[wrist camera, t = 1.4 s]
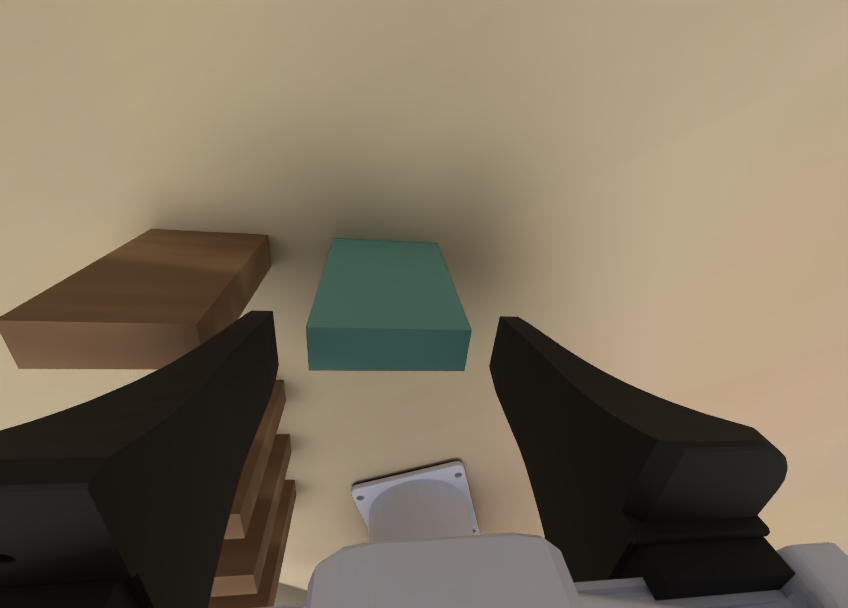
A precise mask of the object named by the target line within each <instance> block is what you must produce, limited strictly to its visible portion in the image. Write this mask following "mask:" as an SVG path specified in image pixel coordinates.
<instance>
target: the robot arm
mask: <svg viewBox="0 0 848 608" xmlns="http://www.w3.org/2000/svg"><path fill="white" fill-rule="evenodd" d="M278 366H279V363H278V354H277V345H276V337H275V328H274V319H273V311H250V312H249V313H247V314H245V315H244V316H242V317H241V318H239V319H238V320H237V321H235V322H234V323H232V324H231V325H229V326H228V327H227V328H225V329H224V330H222V331H221V332H219V333H218V334H216V335H215V336H213V337H212V338H210V339H209V340H207V341H206V342H204V343H203V344H201V345H200V346H198V347H196V348H195V349H193V350H191V351H190V352H188V353H187V354H185V355H183V356H182V357H180V358H178V359H177V360H175V361H173V362H172V363H170V364H168V365H166V366H164V367H162V368H161V369H159V370H157V371H155V372H153V373H151V374H149V375H147V376H145V377H143V378H141V379H139V380H137V381H134V382H132V383H130V384H128V385H125V386H123V387H121V388H118V389H116V390H114V391H111V392H109V393H107V394H104V395H102V396H100V397H97V398H95V399H93V400H90V401H88V402H85V403H82V404H80V405H77V406H74V407H71V408H69V409H66V410H63V411H60V412H57V413H55V414H52V415H49V416H46V417H43V418H40V419H37V420H34V421H31V422H28V423H24V424H21V425H18V426H14V427H11V428H8V429H4V430H1V431H0V608H208V605H209V601H210V596H211V591H212V587H213V582H214V578H215V574H216V570H217V565H218V561H219V557H220V553H221V549H222V544H223V540H224V536H225V532H226V528H227V525H228V521H229V517H230V513H231V509H232V505H233V501H234V498H235V494H236V491H237V487H238V483H239V480H240V476H241V473H242V470H243V467H244V464H245V461H246V458H247V455H248V453H249V450H250V448H251V445H252V443H253V440H254V438H255V435H256V433H257V430H258V428H259V425H260V423H261V420H262V418H263V415H264V413H265V410H266V408H267V405H268V403H269V400H270V397H271V395H272V391H273V388H274V384H275V380H276V375H277V371H278ZM489 367H490V371H491V375H492V379H493V383H494V387H495V390H496V393H497V396H498V399H499V401H500V403H501V406H502V408H503V411H504V413H505V416H506V418H507V420H508V423H509V425H510V427H511V430H512V432H513V435H514V437H515V439H516V442H517V444H518V446H519V449H520V452H521V454H522V457H523V460H524V463H525V466H526V469H527V473H528V476H529V479H530V483H531V486H532V489H533V493H534V497H535V500H536V504H537V508H538V511H539V515H540V519H541V523H542V527H543V531H544V535H545V539H544V538H542V537H540V536H536V535H528V534H519V533H502V534H484V535H480V533H479V529H478V524H477V520H476V516H475V512H474V508H473V504H472V499H471V495H470V491H469V487H468V483H467V479H466V474H465V470H464V466H463V463H461V462H459V461H455V462H450V463H446V464H442V465H438V466H433V467H429V468H425V469H421V470H416V471H412V472H408V473H404V474H399V475H395V476H391V477H387V478H382V479H378V480H374V481H369V482H365V483H361V484H357V485H354V486H353V487H352V488H351V495H352V497H353V499H354V501H355V504H356V506H357V508H358V510H359V512H360V514H361V516H362V518H363V520H364V522H365V524H366V526H367V528H368V530H369V534H368V542H367V543H362V544H357V545H353V546H348V547H344V548H342V549H341V550H339V551H337V552H336V553H334V554H333V555H331V556H330V557H328V558H326V559H325V560H323V561H322V562H321V563H319V564H318V565H317V566H316V567H315V569H314V572H313V574H312V577H311V579H310V582H309V584H308V590H307V597H306V604H296V605H283V606H271V607H258V608H848V556H847V555H846V554H845V553H844V552H843V551H842V550H841V549H840V548H839V547H838V546H837V545H836V544H834V543H830V542H827V543H812V544H798V545H790V546H786V547H783V548H781V549H779V550H777V551H775V549H774V548H773V547H772V546H771V545H770V544H769V543H768V541H767V540H766V539H765V538H764V537H763V536H767V535H768V534H769V533H770V531H769V528H768V527H767V525H766V524H765V523H764V522H763V521H762V520H761V519H760V518H759V517H758V514H759V512H760V511H761V510H762V509H763V508H764V506H765V505H766V504H767V503H768V501H769V500H770V499H771V498H772V496H773V495H774V494H775V493H776V492H777V490H778V489H779V487H780V486H781V484H782V483H783V481H784V480H785V476H786V473H787V461H786V457H785V456H784V455H783V454H782V453H781V452H780V451H779V450H778V449H777V448H776V447H775V446H774V445H773V444H771V443H770V442H769V441H768V440H767V439H766V438H765V437H764V436H762V435H761V434H760V433H759V432H758V431H757V430H755V429H754V428H752V427H749V426H745V425H742V424H739V423H735V422H732V421H728V420H725V419H721V418H718V417H714V416H711V415H707V414H704V413H701V412H698V411H695V410H692V409H689V408H687V407H684V406H681V405H678V404H675V403H672V402H670V401H667V400H665V399H662V398H659V397H657V396H655V395H652V394H650V393H648V392H645V391H643V390H641V389H638V388H636V387H634V386H632V385H629V384H627V383H625V382H623V381H621V380H619V379H617V378H615V377H613V376H611V375H609V374H607V373H605V372H603V371H602V370H600V369H598V368H596V367H594V366H593V365H591V364H589V363H588V362H586V361H584V360H583V359H581V358H579V357H578V356H576V355H575V354H573V353H571V352H570V351H568V350H567V349H565V348H564V347H562V346H561V345H559V344H558V343H556V342H555V341H553V340H552V339H551V338H549V337H548V336H546V335H545V334H543V333H542V332H540V331H539V330H538V329H536V328H535V327H533V326H532V325H530V324H529V323H527V322H526V321H524V320H522V319H521V318H519V317H502V316H500V319H499V323H498V328H497V333H496V338H495V342H494V347H493V352H492V356H491V361H490V366H489Z"/></svg>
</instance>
